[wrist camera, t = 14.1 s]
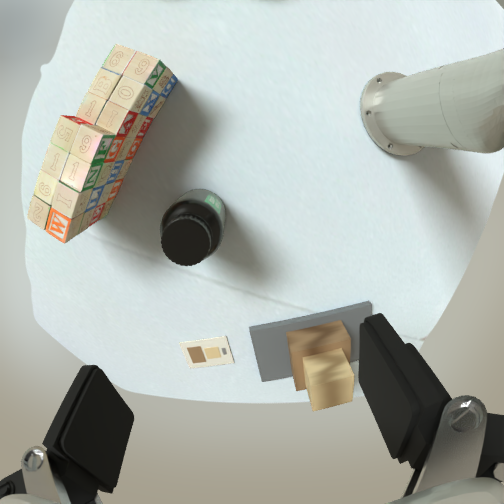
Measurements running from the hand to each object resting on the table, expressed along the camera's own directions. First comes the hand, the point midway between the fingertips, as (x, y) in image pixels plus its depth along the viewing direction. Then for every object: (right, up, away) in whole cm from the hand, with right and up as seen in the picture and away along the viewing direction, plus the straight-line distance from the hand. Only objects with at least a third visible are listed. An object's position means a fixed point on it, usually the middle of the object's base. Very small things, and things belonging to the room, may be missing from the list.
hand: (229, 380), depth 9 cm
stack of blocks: (-17, +19, +24) cm, 35 cm away
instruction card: (-7, -13, +37) cm, 39 cm away
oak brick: (+12, -13, +31) cm, 36 cm away
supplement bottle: (-6, +9, +28) cm, 31 cm away
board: (+11, -11, +37) cm, 40 cm away
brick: (+11, -12, +36) cm, 39 cm away
